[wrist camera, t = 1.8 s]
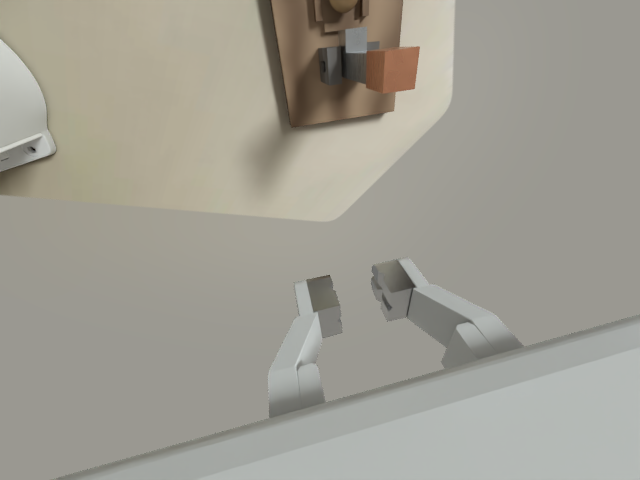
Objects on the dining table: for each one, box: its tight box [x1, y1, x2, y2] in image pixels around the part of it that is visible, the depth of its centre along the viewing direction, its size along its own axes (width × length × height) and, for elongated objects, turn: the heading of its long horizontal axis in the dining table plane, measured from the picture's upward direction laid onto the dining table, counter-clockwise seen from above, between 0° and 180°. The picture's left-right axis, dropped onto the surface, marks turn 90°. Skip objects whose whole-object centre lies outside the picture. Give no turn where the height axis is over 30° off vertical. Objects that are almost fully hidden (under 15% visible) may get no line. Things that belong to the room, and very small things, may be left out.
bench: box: [270, 0, 403, 128], centre depth 30 cm, size 16×18×7 cm
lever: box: [338, 27, 420, 94], centre depth 24 cm, size 3×5×14 cm, turn 6°
